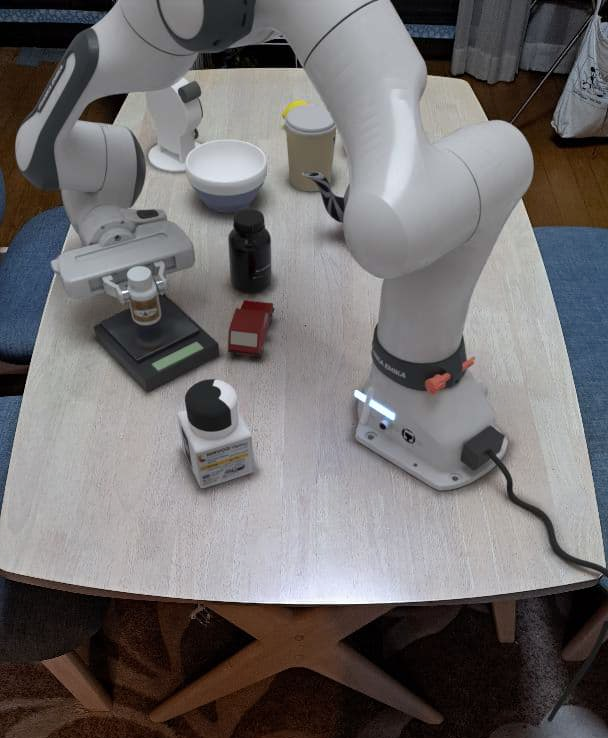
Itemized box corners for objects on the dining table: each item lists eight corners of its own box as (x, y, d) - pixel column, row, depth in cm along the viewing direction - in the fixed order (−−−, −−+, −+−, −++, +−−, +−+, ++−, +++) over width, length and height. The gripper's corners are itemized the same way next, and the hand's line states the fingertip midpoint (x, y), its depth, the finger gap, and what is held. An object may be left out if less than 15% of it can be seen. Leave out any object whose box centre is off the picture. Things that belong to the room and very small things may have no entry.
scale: (219, 355, 124) (218, 339, 121) (147, 392, 119) (144, 376, 116) (166, 306, 130) (163, 289, 128) (95, 339, 125) (91, 322, 123)
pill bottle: (134, 328, 120) (125, 284, 113) (130, 309, 122) (122, 266, 116) (163, 324, 120) (156, 280, 114) (159, 305, 123) (152, 262, 116)
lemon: (317, 123, 164) (318, 96, 160) (314, 137, 161) (315, 109, 157) (283, 121, 165) (283, 93, 160) (280, 134, 162) (279, 107, 157)
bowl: (255, 173, 153) (254, 133, 147) (278, 215, 145) (277, 175, 139) (181, 185, 151) (176, 145, 144) (200, 229, 143) (195, 189, 136)
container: (201, 490, 108) (190, 422, 97) (182, 450, 112) (171, 381, 102) (254, 473, 110) (250, 404, 99) (234, 434, 114) (228, 365, 103)
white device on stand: (221, 156, 157) (215, 75, 144) (179, 180, 152) (169, 98, 139) (179, 134, 161) (169, 54, 149) (136, 157, 156) (123, 75, 144)
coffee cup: (344, 184, 151) (348, 120, 142) (303, 199, 148) (304, 135, 139) (316, 161, 156) (318, 98, 146) (276, 176, 153) (274, 112, 143)
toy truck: (276, 316, 129) (277, 290, 125) (262, 364, 123) (262, 338, 118) (241, 311, 130) (240, 285, 125) (224, 359, 123) (223, 333, 119)
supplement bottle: (266, 298, 132) (264, 232, 122) (226, 292, 132) (221, 226, 123) (276, 272, 136) (274, 207, 126) (236, 267, 136) (232, 201, 127)
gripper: (42, 240, 119) (69, 294, 111) (172, 206, 124) (206, 255, 117) (52, 276, 124) (79, 330, 117) (177, 242, 129) (210, 291, 122)
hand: (144, 292), depth 117 cm, fingers closed on pill bottle, 4 cm apart
